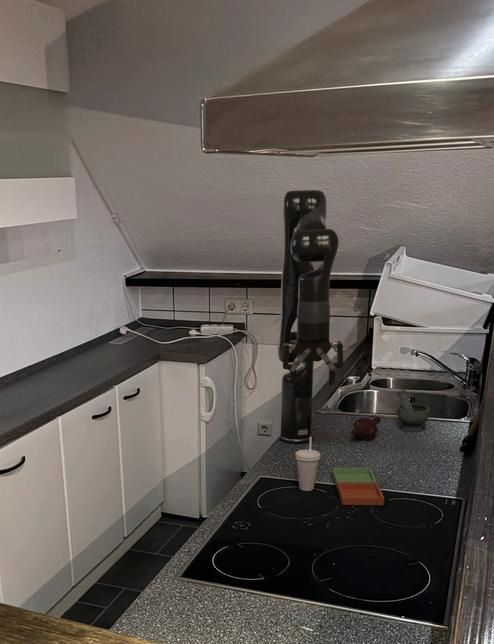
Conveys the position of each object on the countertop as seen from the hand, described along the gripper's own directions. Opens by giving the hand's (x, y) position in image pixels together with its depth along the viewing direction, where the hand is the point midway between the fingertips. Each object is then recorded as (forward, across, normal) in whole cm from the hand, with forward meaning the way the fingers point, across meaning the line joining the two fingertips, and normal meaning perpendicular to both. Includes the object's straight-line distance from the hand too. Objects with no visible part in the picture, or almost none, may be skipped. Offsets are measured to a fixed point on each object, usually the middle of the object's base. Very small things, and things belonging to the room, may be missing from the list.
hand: (312, 385), depth 185 cm
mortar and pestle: (+32, -34, -56) cm, 73 cm away
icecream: (+31, -18, -44) cm, 57 cm away
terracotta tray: (+29, -12, +2) cm, 31 cm away
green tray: (+29, -12, -9) cm, 33 cm away
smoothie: (+29, +1, -3) cm, 29 cm away
